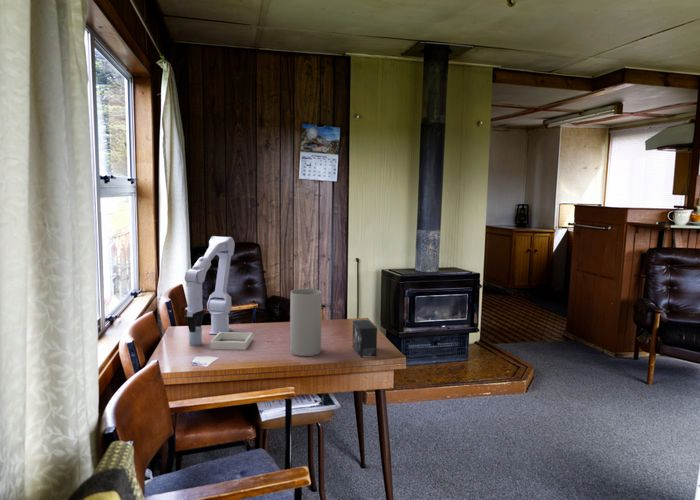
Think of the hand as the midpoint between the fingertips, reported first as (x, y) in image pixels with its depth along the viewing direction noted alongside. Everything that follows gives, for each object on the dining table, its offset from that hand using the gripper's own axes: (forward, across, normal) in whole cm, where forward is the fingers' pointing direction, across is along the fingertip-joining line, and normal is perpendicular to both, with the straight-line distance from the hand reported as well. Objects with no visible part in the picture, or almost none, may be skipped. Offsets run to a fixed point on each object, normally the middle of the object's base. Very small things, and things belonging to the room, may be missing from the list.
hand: (195, 329), depth 208 cm
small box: (+7, +5, +71) cm, 71 cm away
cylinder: (+6, 0, 0) cm, 6 cm away
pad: (+6, -2, +15) cm, 16 cm away
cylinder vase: (+6, +7, +47) cm, 48 cm away
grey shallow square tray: (+6, -2, +15) cm, 16 cm away
